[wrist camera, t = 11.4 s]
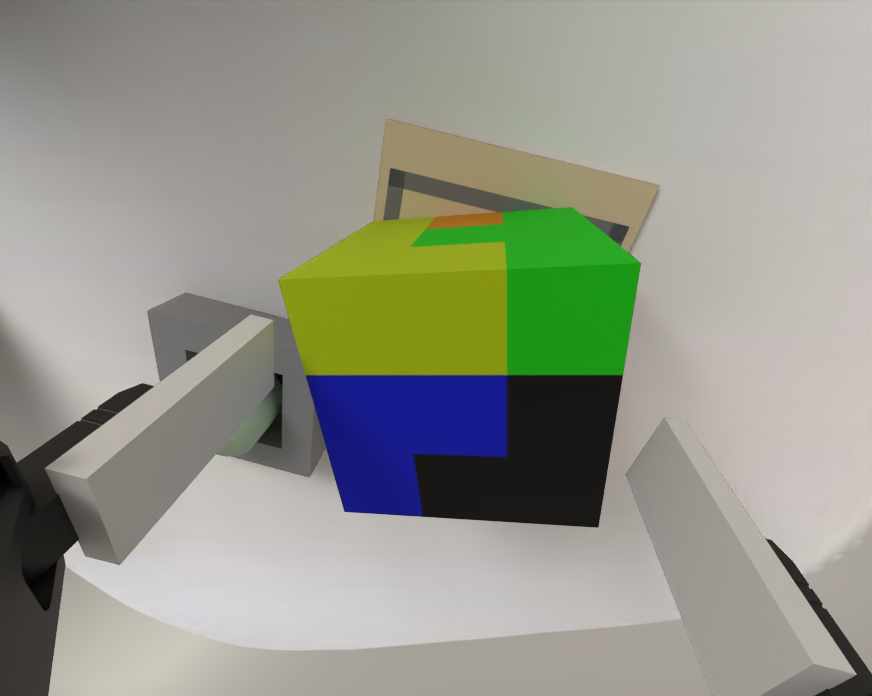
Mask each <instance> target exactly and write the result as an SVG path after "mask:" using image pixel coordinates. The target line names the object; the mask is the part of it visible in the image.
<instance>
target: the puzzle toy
mask: <svg viewBox="0 0 872 696" xmlns="http://www.w3.org/2000/svg"><path fill="white" fill-rule="evenodd" d="M640 266H641V263H640V262H639V261H638V260H637V259H635V258H634V257H633V256H632V255H630V254H629V253H628V252H627V251H626V250H624V249H623V248H622V247H621V246H619V245H618V244H617V243H616V242H615V241H613V240H612V239H611V238H610V237H608V236H607V235H606V234H605V233H603V232H602V231H601V230H600V229H599V228H597V227H596V226H595V225H594V224H592V223H591V222H590V221H589V220H588V219H586V218H585V217H584V216H583V215H581V214H580V213H579V212H578V211H577V210H575V209H574V208H573V207H567V208H553V209H538V210H524V211H510V212H496V213H481V214H467V215H453V216H439V217H424V218H410V219H396V220H382V221H373V222H371V223H370V224H368V225H366V226H365V227H363V228H362V229H360V230H358V231H357V232H355V233H353V234H352V235H350V236H348V237H347V238H345V239H344V240H342V241H340V242H339V243H337V244H335V245H334V246H332V247H330V248H329V249H327V250H326V251H324V252H322V253H321V254H319V255H317V256H316V257H314V258H313V259H311V260H309V261H308V262H306V263H304V264H303V265H301V266H299V267H298V268H296V269H295V270H293V271H291V272H290V273H288V274H286V275H285V276H283V277H281V278H280V279H278V281H279V285H280V288H281V292H282V295H283V299H284V302H285V306H286V309H287V312H288V316H289V319H290V323H291V326H292V330H293V333H294V337H295V340H296V344H297V347H298V351H299V354H300V358H301V361H302V365H303V368H304V372H305V375H306V379H307V382H308V386H309V389H310V393H311V396H312V400H313V403H314V407H315V410H316V414H317V417H318V421H319V424H320V428H321V431H322V435H323V438H324V441H325V445H326V448H327V452H328V455H329V459H330V462H331V466H332V469H333V473H334V476H335V480H336V483H337V487H338V490H339V494H340V497H341V501H342V504H343V508H344V511H345V512H356V513H373V514H389V515H405V516H421V517H437V518H453V519H469V520H485V521H502V522H518V523H534V524H550V525H566V526H582V527H598V526H599V520H600V514H601V507H602V501H603V495H604V489H605V483H606V476H607V470H608V464H609V458H610V452H611V445H612V439H613V433H614V427H615V421H616V414H617V408H618V402H619V396H620V390H621V383H622V377H623V371H624V365H625V359H626V352H627V346H628V340H629V334H630V328H631V321H632V315H633V309H634V303H635V297H636V290H637V284H638V278H639V272H640Z"/></svg>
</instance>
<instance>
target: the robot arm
mask: <svg viewBox="0 0 872 696" xmlns="http://www.w3.org/2000/svg"><path fill="white" fill-rule="evenodd" d="M273 387H274V321H273V320H271V319H267V318H263V317H259V316H255V315H249V316H248V317H247V318H245V319H244V320H243V321H241V322H240V323H239V324H237V325H236V326H235V327H233V328H232V329H231V330H229V331H228V332H227V333H225V334H224V335H223V336H221V337H220V338H219V339H217V340H216V341H215V342H213V343H212V344H211V345H209V346H208V347H207V348H205V349H204V350H203V351H201V352H200V353H199V354H197V355H196V356H195V357H193V358H192V359H190V360H189V361H188V362H186V363H185V364H184V365H182V366H181V367H180V368H178V369H177V370H176V371H174V372H173V373H172V374H170V375H169V376H168V377H166V378H165V379H164V380H162V381H161V382H160V383H158V384H157V385H156V386H151V385H147V384H143V383H142V384H139V385H137V386H134V387H132V388H129V389H127V390H124V391H122V392H119V393H117V394H116V395H114V396H113V397H111V398H110V399H109V400H107V401H106V402H104V403H103V404H101V405H100V406H98V409H97V410H95V409H94V410H93V411H91V412H90V413H88V414H87V415H85V416H84V417H83V418H82V420H81V421H80V422H79V421H77V422H75V423H74V424H72V425H71V426H70V427H68V428H67V429H65V430H64V431H62V432H61V433H59V434H58V435H57V436H55V437H54V438H52V439H51V440H49V441H48V442H46V443H45V444H43V445H42V446H41V447H39V448H38V449H36V450H35V451H33V452H32V453H30V454H29V455H28V456H26V457H25V458H23V459H22V460H20V461H19V462H17V463H16V461H15V459H14V457H13V456H12V454H11V452H10V450H9V448H8V446H7V445H6V444H4V443H3V442H1V441H0V696H48V692H49V685H50V677H51V669H52V662H53V655H54V647H55V639H56V631H57V624H58V617H59V609H60V602H61V594H62V586H63V578H64V571H65V560H64V555H63V554H64V553H65V552H66V551H67V550H68V549H69V548H71V547H72V546H73V545H74V544H75V543H76V542H77V541H78V542H79V544H80V546H81V548H82V550H83V552H84V555H85V556H86V557H90V558H94V559H98V560H102V561H106V562H110V563H114V564H118V565H120V564H121V563H122V562H123V561H124V560H125V558H126V557H127V556H128V555H129V554H130V553H131V552H132V550H133V549H134V548H135V547H136V546H137V545H138V543H139V542H140V541H141V540H142V539H143V538H144V537H145V535H146V534H147V533H148V532H149V531H150V530H151V528H152V527H153V526H154V525H155V524H156V523H157V521H158V520H159V519H160V518H161V517H162V516H163V515H164V513H165V512H166V511H167V510H168V509H169V508H170V506H171V505H172V504H173V503H174V502H175V501H176V500H177V498H178V497H179V496H180V495H181V494H182V493H183V491H184V490H185V489H186V488H187V487H188V486H189V484H190V483H191V482H192V481H193V480H194V479H195V478H196V476H197V475H198V474H199V473H200V472H201V471H202V469H203V468H204V467H205V466H206V465H207V464H208V463H209V461H210V460H211V459H212V458H213V457H214V456H215V454H216V453H217V452H218V451H219V450H220V449H221V447H222V446H223V445H224V444H225V443H226V442H227V441H228V439H229V438H230V437H231V436H232V435H233V434H234V432H235V431H236V430H237V429H238V428H239V427H240V426H241V424H242V423H243V422H244V421H245V420H246V419H247V417H248V416H249V415H250V414H251V413H252V412H253V410H254V409H255V408H256V407H257V406H258V405H259V404H260V402H261V401H262V400H263V399H264V398H265V397H266V395H267V394H268V393H269V392H270V391H271V390H272V389H273ZM626 476H627V479H628V482H629V484H630V487H631V489H632V492H633V494H634V497H635V499H636V502H637V505H638V507H639V510H640V512H641V515H642V517H643V520H644V523H645V525H646V528H647V530H648V533H649V535H650V538H651V540H652V543H653V546H654V548H655V551H656V553H657V556H658V558H659V561H660V564H661V566H662V569H663V571H664V574H665V576H666V579H667V581H668V584H669V587H670V589H671V592H672V594H673V597H674V599H675V602H676V605H677V607H678V610H679V612H680V615H681V617H682V620H683V622H684V625H685V628H686V630H687V633H688V635H689V638H690V640H691V643H692V645H693V648H694V651H695V653H696V656H697V658H698V661H699V663H700V666H701V669H702V671H703V674H704V676H705V679H706V681H707V684H708V686H709V689H710V692H711V694H712V696H872V674H871V672H870V671H869V670H868V668H867V667H866V665H865V664H864V662H863V661H862V660H861V658H860V657H859V655H858V654H857V652H856V651H855V650H854V648H853V647H852V646H851V644H850V643H849V641H848V640H847V638H846V637H845V635H844V634H843V632H842V631H841V630H840V628H839V627H838V625H837V624H836V623H835V621H834V620H833V618H832V617H831V615H830V614H829V613H828V611H827V610H826V609H824V608H823V607H822V603H821V601H820V600H819V598H818V597H817V595H816V594H815V592H814V591H813V590H812V589H809V587H808V586H809V584H808V583H807V581H806V580H805V578H804V577H803V575H802V574H801V573H800V571H799V570H798V568H797V567H796V565H795V564H794V563H793V561H792V560H791V559H790V558H789V557H788V556H787V555H786V554H785V553H784V552H783V551H782V550H781V549H780V548H779V547H778V546H777V545H776V544H775V543H774V542H773V541H772V540H769V539H765V538H764V536H763V535H762V533H761V532H760V530H759V529H758V527H757V526H756V524H755V523H754V521H753V520H752V518H751V517H750V515H749V514H748V512H747V511H746V509H745V508H744V506H743V505H742V503H741V502H740V500H739V499H738V497H737V496H736V494H735V493H734V491H733V490H732V488H731V487H730V486H729V484H728V483H727V481H726V480H725V478H724V477H723V475H722V474H721V472H720V471H719V469H718V468H717V466H716V465H715V463H714V462H713V460H712V459H711V457H710V456H709V454H708V453H707V451H706V450H705V448H704V447H703V445H702V444H701V442H700V441H699V439H698V438H697V436H696V435H695V434H694V432H693V431H692V429H691V428H690V426H689V425H688V423H685V422H681V421H677V420H673V419H669V418H665V417H664V419H663V420H662V422H661V423H660V425H659V426H658V428H657V429H656V430H655V432H654V433H653V435H652V436H651V438H650V439H649V441H648V442H647V444H646V445H645V447H644V448H643V450H642V451H641V453H640V454H639V456H638V457H637V459H636V460H635V461H634V463H633V464H632V466H631V467H630V469H629V470H628V472H627V473H626Z"/></svg>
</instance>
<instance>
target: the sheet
mask: <svg viewBox="0 0 872 696" xmlns="http://www.w3.org/2000/svg"><path fill="white" fill-rule="evenodd" d="M659 186H660V185H656V184H652V183H648V182H644V181H640V180H635V179H631V178H627V177H623V176H619V175H615V174H611V173H607V172H603V171H599V170H594V169H590V168H586V167H582V166H578V165H574V164H570V163H566V162H562V161H557V160H553V159H549V158H545V157H541V156H537V155H533V154H529V153H525V152H520V151H516V150H512V149H508V148H504V147H500V146H496V145H492V144H488V143H484V142H479V141H475V140H471V139H467V138H463V137H459V136H455V135H451V134H447V133H442V132H438V131H434V130H430V129H426V128H422V127H418V126H414V125H410V124H405V123H401V122H397V121H393V120H389V119H386V126H385V134H384V142H383V150H382V158H381V166H380V174H379V182H378V190H377V198H376V206H375V214H374V221H382V220H396V219H410V218H424V217H439V216H453V215H467V214H481V213H496V212H510V211H524V210H538V209H553V208H567V207H573V208H574V209H575V210H577V211H578V212H579V213H580V214H581V215H583V216H584V217H585V218H586V219H588V220H589V221H590V222H591V223H592V224H594V225H595V226H596V227H597V228H599V229H600V230H601V231H602V232H603V233H605V234H606V235H607V236H608V237H610V238H611V239H612V240H613V241H615V242H616V243H617V244H618V245H619V246H621V247H622V248H623V249H624V250H626V251H627V252H628V253H629V251H630V249H631V247H632V244H633V242H634V240H635V238H636V236H637V234H638V232H639V229H640V227H641V225H642V223H643V221H644V219H645V217H646V214H647V212H648V210H649V208H650V206H651V204H652V201H653V199H654V197H655V195H656V193H657V191H658V189H659Z"/></svg>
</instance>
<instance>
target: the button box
mask: <svg viewBox="0 0 872 696" xmlns="http://www.w3.org/2000/svg"><path fill="white" fill-rule="evenodd" d="M147 312H148V318H149V323H150V329H151V334H152V340H153V345H154V351H155V357H156V362H157V368H158V373H159V379H160V382H161V381H162V380H164V379H165V378H166V377H168V376H169V375H170V374H172V373H173V372H174V371H176V370H177V369H178V368H180V367H181V366H182V365H184V364H185V363H186V362H188V361H189V360H190V359H192V358H193V357H195V356H196V355H197V354H199V353H200V352H201V351H203V350H204V349H205V348H207V347H208V346H209V345H211V344H212V343H213V342H215V341H216V340H217V339H219V338H220V337H221V336H223V335H224V334H225V333H227V332H228V331H229V330H231V329H232V328H233V327H235V326H236V325H237V324H239V323H240V322H241V321H243V320H244V319H245V318H247V317H248V316H249V315H255V316H259V317H263V318H267V319H271V320H273V321H274V373H277V374H280V375H283V391H282V415H280V414H279V415H278V416H277V417H276V418H275V420H274V421H273V422H272V423H271V425H270V426H269V427H268V428H267V430H266V431H265V432H264V433H263V435H262V436H261V437H260V438H259V439H258V441H257V442H256V443H255V444H254V446H253V447H252V448H251V449H250V450H249V451H248V452H246V453H244V454H242V455H238V456H231V457H235V458H239V459H243V460H246V461H250V462H254V463H258V464H261V465H265V466H269V467H273V468H276V469H280V470H284V471H288V472H291V473H295V474H299V475H302V476H306V477H310V475H311V474H312V472H313V470H314V468H315V467H316V465H317V463H318V461H319V459H320V458H321V456H322V454H323V452H324V451H325V449H326V445H325V441H324V438H323V435H322V431H321V428H320V424H319V421H318V417H317V414H316V410H315V407H314V403H313V400H312V396H311V393H310V389H309V386H308V382H307V379H306V375H305V372H304V368H303V365H302V361H301V358H300V354H299V351H298V347H297V344H296V340H295V337H294V333H293V330H292V326H291V323H290V320H289V319H285V318H281V317H277V316H274V315H270V314H266V313H262V312H258V311H254V310H250V309H246V308H242V307H239V306H235V305H231V304H227V303H223V302H219V301H215V300H211V299H207V298H204V297H200V296H196V295H192V294H188V293H184V294H182V295H180V296H177V297H175V298H173V299H171V300H169V301H167V302H165V303H163V304H160V305H158V306H156V307H154V308H152V309H150V310H148V311H147Z"/></svg>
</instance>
